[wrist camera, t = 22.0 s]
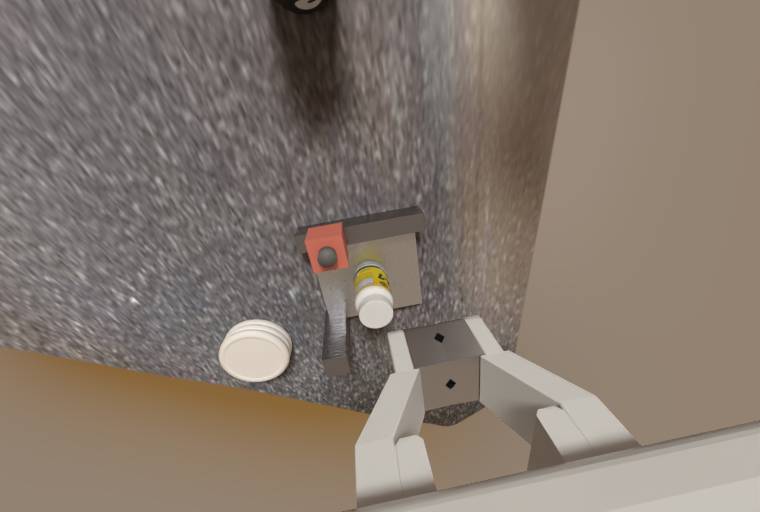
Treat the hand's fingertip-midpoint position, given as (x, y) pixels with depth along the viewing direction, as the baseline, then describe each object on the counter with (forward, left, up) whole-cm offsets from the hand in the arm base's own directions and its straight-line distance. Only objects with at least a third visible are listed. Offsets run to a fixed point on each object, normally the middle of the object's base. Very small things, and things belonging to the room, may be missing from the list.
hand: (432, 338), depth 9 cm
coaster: (+21, +23, -30) cm, 43 cm away
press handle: (+6, +7, -26) cm, 27 cm away
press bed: (+2, +14, -29) cm, 32 cm away
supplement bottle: (+2, +14, -28) cm, 31 cm away
